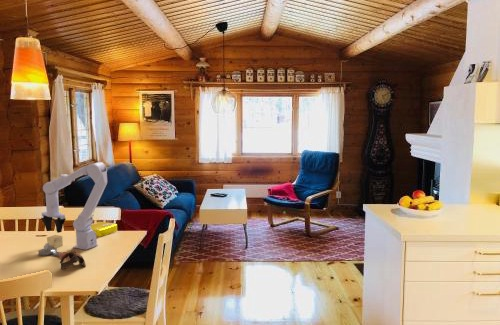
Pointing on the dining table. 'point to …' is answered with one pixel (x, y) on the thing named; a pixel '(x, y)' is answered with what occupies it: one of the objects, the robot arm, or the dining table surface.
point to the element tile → (103, 228)
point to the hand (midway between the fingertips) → (54, 231)
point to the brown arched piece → (72, 259)
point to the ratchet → (51, 252)
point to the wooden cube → (55, 241)
